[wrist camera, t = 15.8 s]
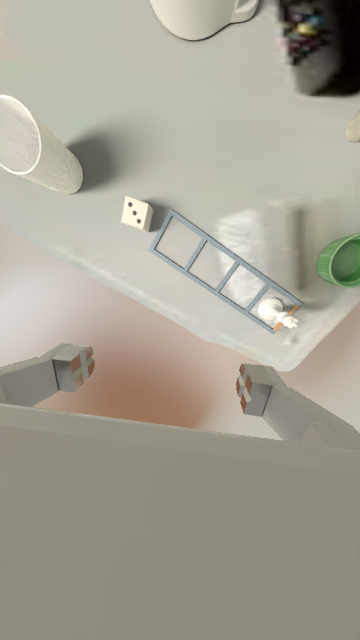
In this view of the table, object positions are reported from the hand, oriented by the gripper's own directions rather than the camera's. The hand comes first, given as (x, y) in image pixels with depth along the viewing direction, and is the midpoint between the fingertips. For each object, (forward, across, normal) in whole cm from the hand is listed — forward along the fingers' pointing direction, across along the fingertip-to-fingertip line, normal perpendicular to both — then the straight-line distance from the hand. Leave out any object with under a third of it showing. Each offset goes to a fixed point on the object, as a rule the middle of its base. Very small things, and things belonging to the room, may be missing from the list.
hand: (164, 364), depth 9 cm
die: (+29, +10, -12) cm, 33 cm away
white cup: (+29, +24, -18) cm, 42 cm away
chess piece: (+29, -18, +3) cm, 35 cm away
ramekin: (+30, -29, -7) cm, 42 cm away
